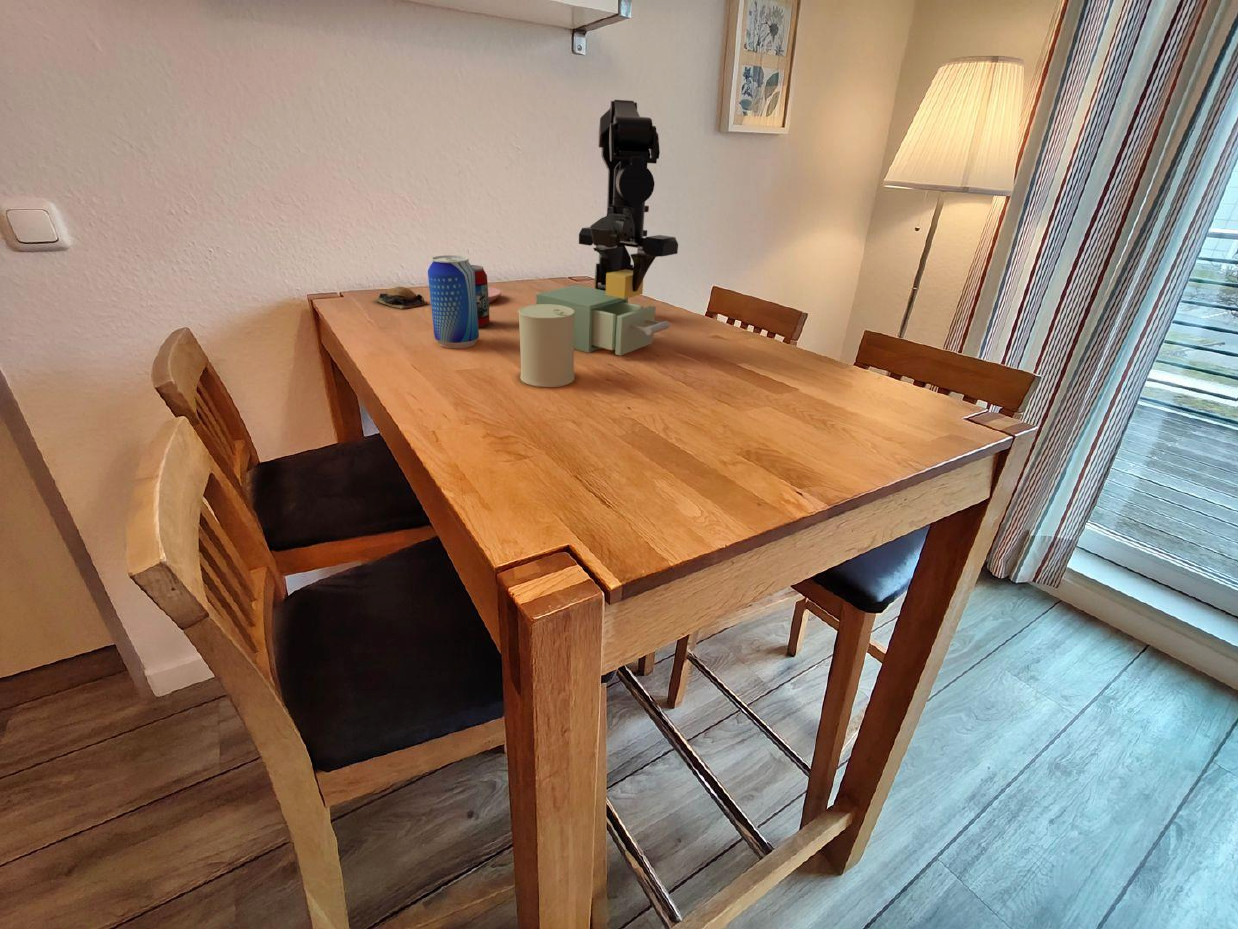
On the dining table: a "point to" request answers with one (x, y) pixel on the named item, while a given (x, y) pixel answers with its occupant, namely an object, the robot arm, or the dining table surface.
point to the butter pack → (621, 284)
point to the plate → (493, 293)
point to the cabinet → (580, 309)
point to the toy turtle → (401, 298)
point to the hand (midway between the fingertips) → (624, 289)
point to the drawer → (624, 327)
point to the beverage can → (481, 295)
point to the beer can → (453, 301)
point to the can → (547, 345)
